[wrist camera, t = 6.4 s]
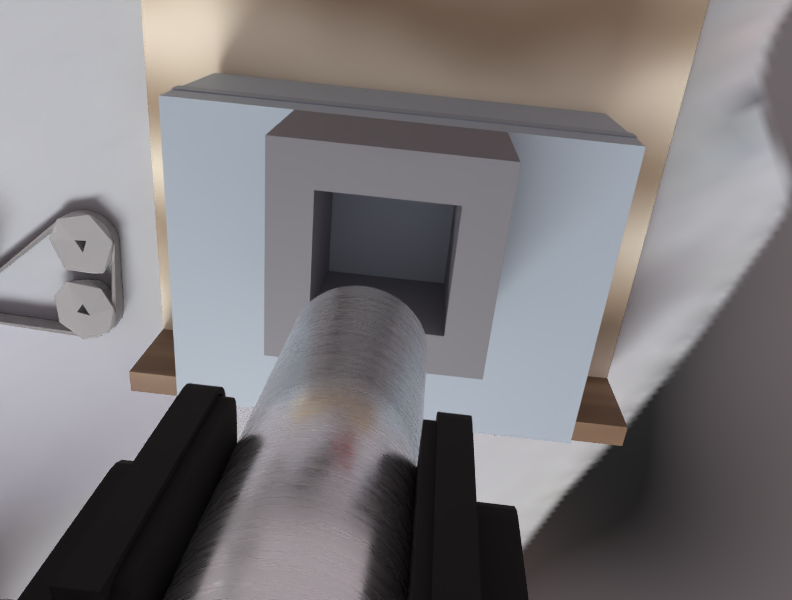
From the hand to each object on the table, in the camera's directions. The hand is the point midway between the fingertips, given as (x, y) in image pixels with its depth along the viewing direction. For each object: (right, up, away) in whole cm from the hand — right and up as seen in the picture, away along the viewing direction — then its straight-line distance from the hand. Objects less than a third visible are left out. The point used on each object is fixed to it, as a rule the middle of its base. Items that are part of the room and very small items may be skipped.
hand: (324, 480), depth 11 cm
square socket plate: (+1, +6, +19) cm, 20 cm away
